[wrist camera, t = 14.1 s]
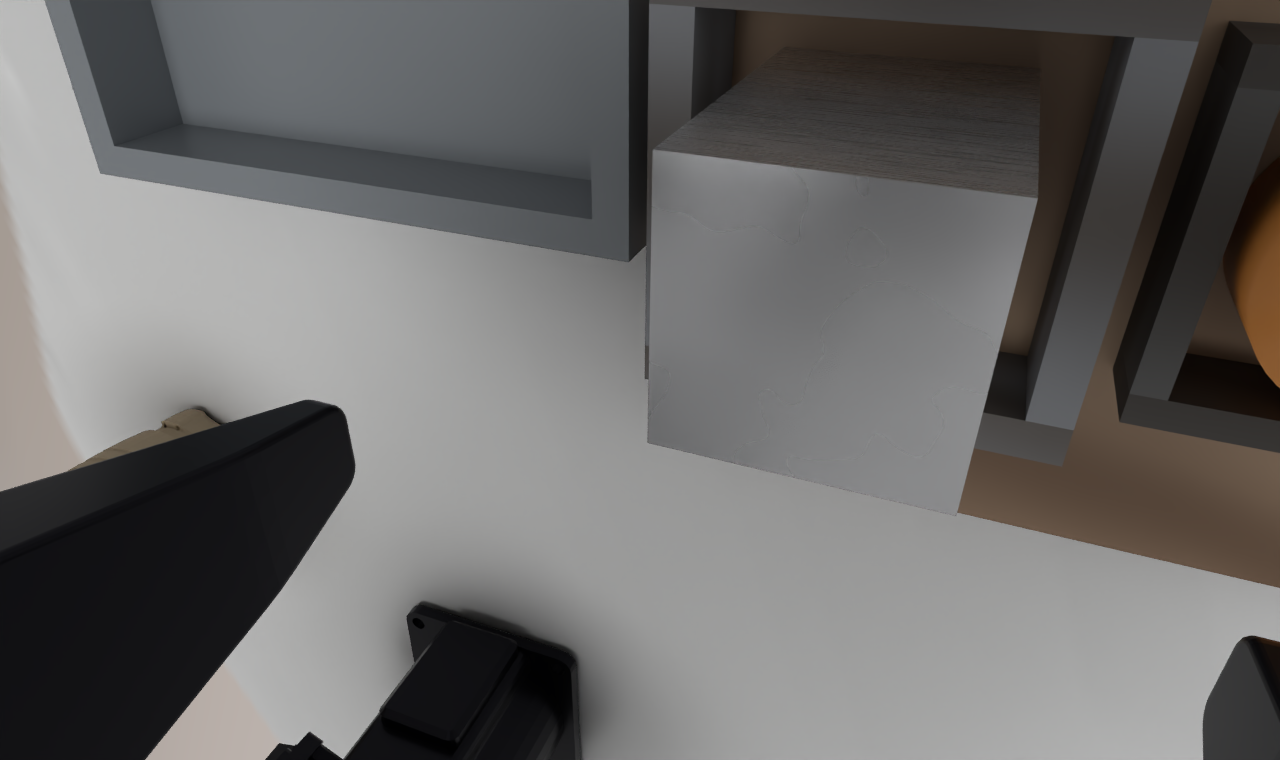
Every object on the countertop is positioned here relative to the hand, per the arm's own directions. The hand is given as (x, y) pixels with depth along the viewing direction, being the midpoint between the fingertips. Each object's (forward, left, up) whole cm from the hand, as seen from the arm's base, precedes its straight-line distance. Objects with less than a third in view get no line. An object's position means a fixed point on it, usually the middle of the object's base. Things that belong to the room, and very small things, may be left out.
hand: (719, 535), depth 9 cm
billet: (0, 0, -11) cm, 11 cm away
